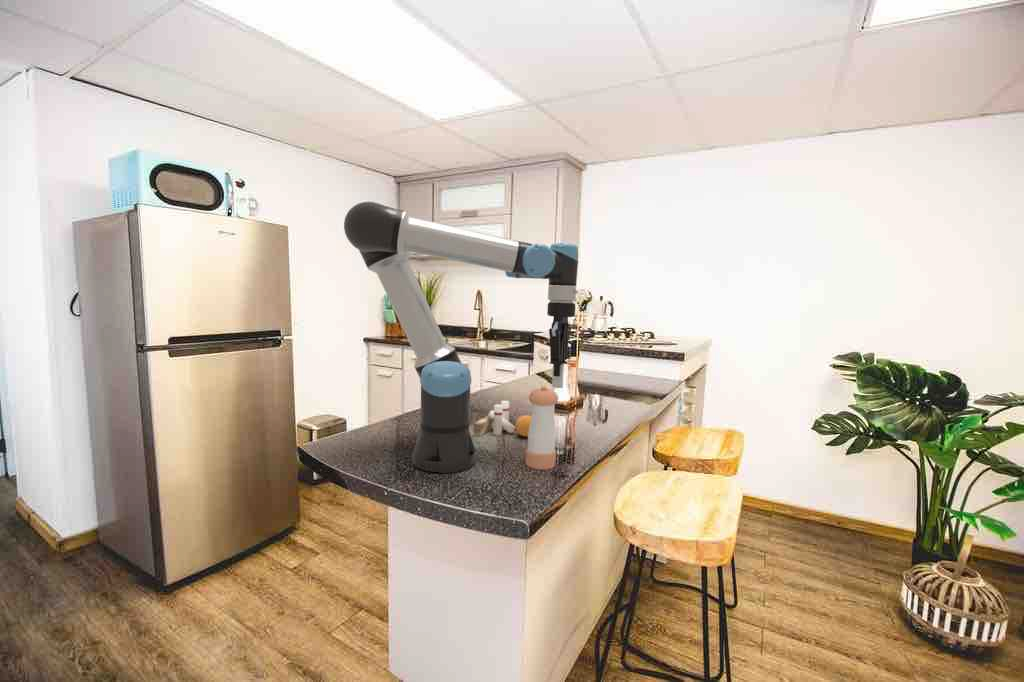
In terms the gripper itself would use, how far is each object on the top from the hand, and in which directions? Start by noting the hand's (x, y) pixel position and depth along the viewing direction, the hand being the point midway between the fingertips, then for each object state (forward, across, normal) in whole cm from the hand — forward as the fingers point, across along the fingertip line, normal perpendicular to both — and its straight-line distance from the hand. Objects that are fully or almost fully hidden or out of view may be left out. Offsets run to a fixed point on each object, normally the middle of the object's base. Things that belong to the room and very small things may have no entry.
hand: (557, 387), depth 123 cm
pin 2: (+15, +2, +16) cm, 23 cm away
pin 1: (+15, -2, +16) cm, 23 cm away
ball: (+12, 0, +9) cm, 15 cm away
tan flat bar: (+15, 0, +21) cm, 26 cm away
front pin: (+14, 0, +13) cm, 19 cm away
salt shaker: (+16, -18, -2) cm, 24 cm away
